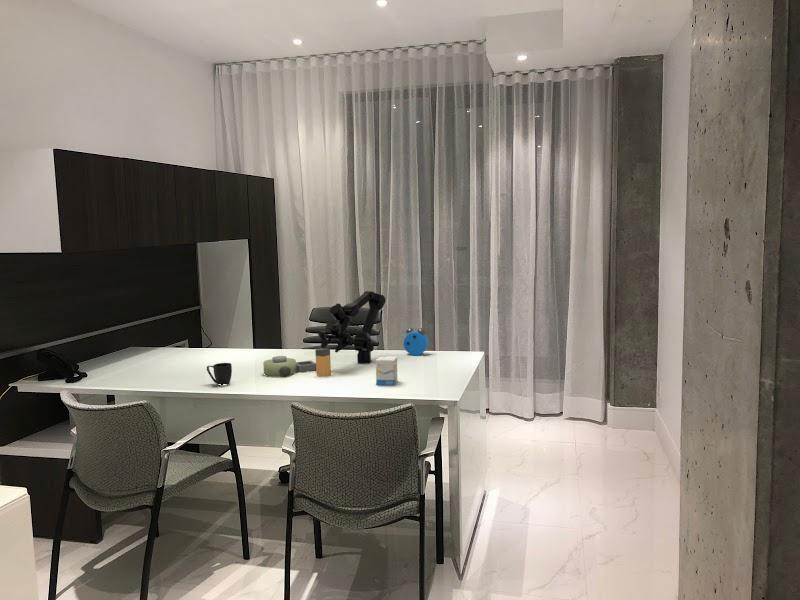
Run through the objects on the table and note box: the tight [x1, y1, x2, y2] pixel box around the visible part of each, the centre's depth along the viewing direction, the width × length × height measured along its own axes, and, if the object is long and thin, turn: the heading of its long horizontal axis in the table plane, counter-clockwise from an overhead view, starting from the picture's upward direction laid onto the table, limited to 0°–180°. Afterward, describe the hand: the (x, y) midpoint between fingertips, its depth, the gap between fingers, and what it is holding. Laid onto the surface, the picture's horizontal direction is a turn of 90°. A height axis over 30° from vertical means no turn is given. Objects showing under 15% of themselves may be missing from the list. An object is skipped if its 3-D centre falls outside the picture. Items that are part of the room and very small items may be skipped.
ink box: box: [375, 355, 398, 386], centre depth 297 cm, size 9×8×12 cm
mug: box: [206, 362, 233, 385], centre depth 305 cm, size 8×12×10 cm
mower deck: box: [262, 355, 316, 378], centre depth 327 cm, size 26×20×8 cm
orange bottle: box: [315, 347, 332, 377], centre depth 317 cm, size 5×5×13 cm
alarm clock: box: [402, 327, 429, 356], centre depth 360 cm, size 13×6×15 cm, turn 74°
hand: (328, 351), depth 320 cm, fingers open, 9 cm apart
